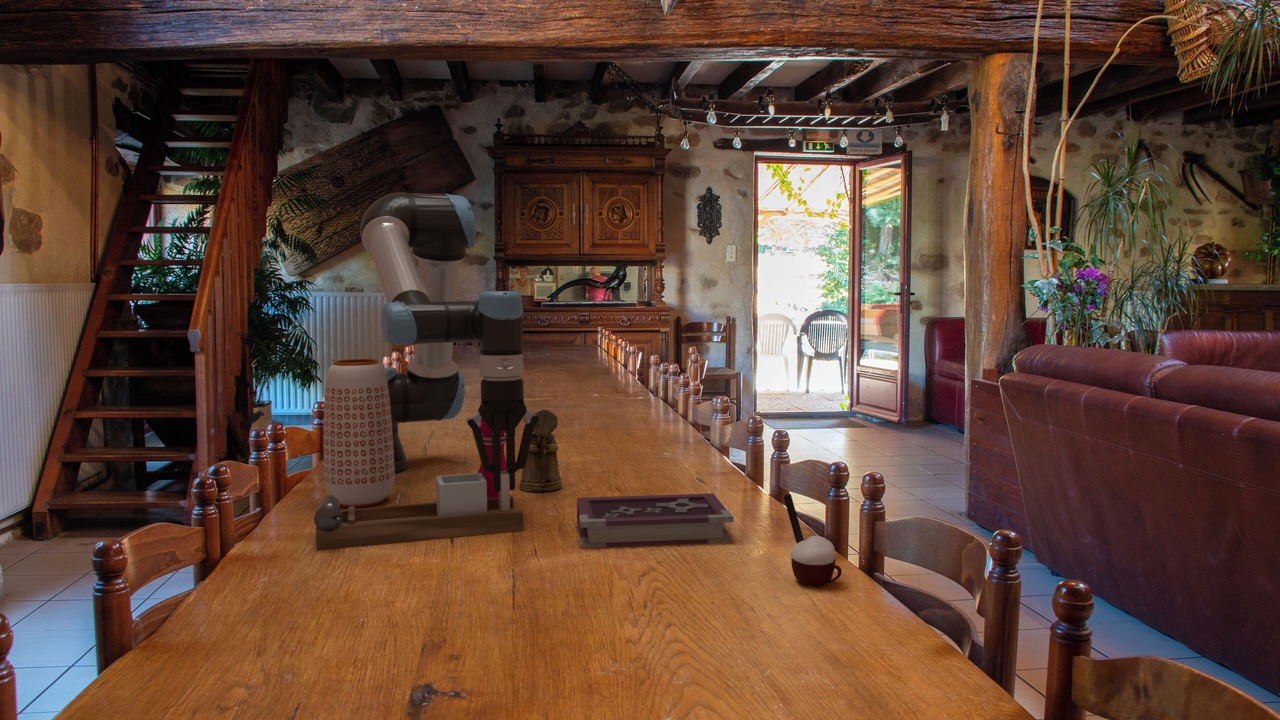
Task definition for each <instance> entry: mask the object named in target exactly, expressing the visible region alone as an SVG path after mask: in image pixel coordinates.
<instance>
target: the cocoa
mask: <svg viewBox="0 0 1280 720" xmlns="http://www.w3.org/2000/svg"><path fill="white" fill-rule="evenodd" d="M783 500H784V503H785V507H786V510H787V514H788V518H789V521H790V525H791V528H792V533H793V536H794V539H795V542H796V543H795V544H794V545H793V547H792V548H791V551H790V558H791V569H792V573H793V576H794V578H795V579H796V580H797V581H798V582H799V583H800V584H802V585H804V586H806V587H807V586H808V587H811V588H812V587H816V588H818V587H823V586H825V585H827V584H831V583H833V582H834V583H835V581H837V580H838V579H839V578H840V577H841V576H842V572H843V571H842V568H841V566H839V565H836V555H835V546H834V544H833V543H832V542H831V541H830V540H829V539H827V538H825V537H823V536H820V535H811V536H809V537H808V538H806V539H804V537H803V531H802V528H801V526H800V522H799V519H798V515H797V511H796V507H795V504H794V501H793V497H792V494H791V493H786V494H784V495H783ZM835 569H836V570H837V575H836V576H835V577H833V575H834V572H835Z"/></svg>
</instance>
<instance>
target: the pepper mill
mask: <svg viewBox="0 0 1280 720" xmlns="http://www.w3.org/2000/svg"><path fill="white" fill-rule="evenodd" d="M479 428H480V430H481V433H482V437H483V440H484V444H485V448H486V452H487V455H488V459H489V463H490V464H492V435H491V428H490V427H489V426H488V425H487V424H486V422H485V421H484V420H483V419H482V418H481V426H480V427H479ZM500 442H501V471H507V468H506V456H505V455H506V454H505V444H506V433H505V430H501V436H500ZM477 473H481V474H482V475H483V477H484V478H485V480H486V481H487V498H497V497H499V491H495V490H494V488H493V473H492V472H489V471H485V470H484V469H483V467H482V464H481V463H480V465H479V468H478V470H477ZM510 496H511V494H510Z"/></svg>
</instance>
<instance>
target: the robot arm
mask: <svg viewBox="0 0 1280 720" xmlns="http://www.w3.org/2000/svg"><path fill="white" fill-rule="evenodd" d="M359 235H360V239H361V243H362V246H363V247H364V249H365V250H366V251H367V252H368V253H369V254H370V255H371V257H372V260H373V263H374V266H375V268H376V272H377V276H378V278H379V281H380V283H381V287H382V290H383V293H384V294H383V295H384V296H385V299H386V302H387V303H385V304H384V305H383V307H382V309H381V316H380V317H381V318H380V319H381V321H380V322H381V328H382V337H383V339H384V341H386V342H387V343H388V344H392V345H406V346H409V345H414V355H413V356H414V357H413V358H412V359H410V361H409V362H408V363H407V366H406V372H398V370H397V368H396V367H392V366H389V367H388V366H387V367H383V368H384V370H385V372H386V376H387V383H388V390H389V398H390V409H391V420H392V433H393V450H394V467H395V474H397V473H400V472H403V471H405V470H407V468H408V458H407V455H406V452H405V450H404V446H403V445H402V442H401V439H400V437H399V436H400V435H399V424H402V423H416V422H417V423H418V422H430V421H437V422H440V421H443V420H450V419H455V418H456V417H457V415H459V414H460V413H461V410H462V408H463V404H464V401H465V394H466V388H465V385H466V383H465V376H464V374H463V372H462V371H460V370H459V366H458V365H457V363H456V362H455V361H453V350H454V349H453V346H454V343H475V342H476V343H477V342H479V349H480V350H479V351H480V352H479V353H480V355H479V358H480V371H479V372H480V376H481V377H483V379H482V380H481V381H480V405H479V407H478V412H476V414H474V415H472V416H470V417H467V418H466V420H465V421H466V424H467V425H468V426H469V428H470V429H471V430H472V434H473V437H474V441H475V445H476V449H477V453H478V456H479V459H480V465H481V464H482V467H483V469H484V470H485V471H489V472H492V473H493V488H494V490H495V491H499V507H500V509H501V510H510V495H511V494H510V491H515V488H516V473H517V472H518V471H519V470H523V468H524V467H525V465H526V460H527V456H528V451H529V447H530V442H531V438H532V433H533V429H534V427H535V426H536V424H537V423H538V421H539V417H538V416H536V415H535V413H532V412H530V411H528V409H527V406H526V403H525V400H524V397H525V395H524V394H525V391H524V380H523V378H521V377H522V376H523V375H524V356H523V354H524V343H523V342H524V341H523V339H524V337H523V335H524V333H523V327H524V326H523V325H524V323H523V317H524V316H523V315H524V309H523V302H522V301H523V298H522V295H521V293H520V292H518V291H515V290H514V291H512V290H511V291H510V290H507V291H506V290H499V291H497V290H496V291H495V290H493V291H492V290H489V291H488V290H486V291H482V292H481V293H479V297H478V298H479V300H472V301H471V300H469V301H467V300H466V301H462V300H461V301H457V300H456V299H457V287H458V285H457V284H458V272H459V269H458V268H459V264H460V263H461V262H464V260H465V259H466V255H467V254H466V253H467V250H470V249H474V247H475V245H476V242H477V227H476V220H475V216H474V210H473V208H472V205H471V204H470V202H469V200H468V199H467V198H466V197H464V196H462V195H455V194H449V193H421V192H420V193H416V192H414V193H413V192H412V193H410V192H399V191H398V192H392V193H388V194H386V195H384V196H382V197H380V198H377V200H375V201H374V202H373V203H372V204H371V205H369V207H367V209H366V211H365V212H364V214H363V216H362V218H361V221H360V225H359ZM415 258H416V260H417V261H418V266H417V263H416V262H417V261H416V260H415ZM481 418H482V419H483V420H484V421H485V422H486V424H487V425H488V426H489V427H490V428H491V435H492V464H490V463H489V459H488V455H487V452H486V448H485V444H484V440H483V437H482V433H481V430H480V428H479V427H480V426H481ZM523 418H524V419H523ZM522 420H523V422H524V427H523V429H522V435H521V440H520V443H519V444H520V445H519V448H518V453H517V458H516V438H515V437H516V428H517V427H518V425H519V424H520V422H521V421H522ZM501 430H505V435H506V443H505V451H506V452H505V455H506V456H505V459H506V468H507V471H501V442H500V436H501Z"/></svg>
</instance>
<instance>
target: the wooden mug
mask: <svg viewBox="0 0 1280 720" xmlns="http://www.w3.org/2000/svg"><path fill="white" fill-rule="evenodd" d="M534 414H535V415H536V416H538V417H539V421H538V423H537V424H536V426H535V427H534V429H533V433H532V438H531V442H530V447H529V451H528V456H527V460H526V465H525V467H524V468H523V469H522V472H521V479H520V481H519V489H520V490H521V491H523V492H527V493H550V492H555V491H558V490H560V489H561V488H562V487H563V482H562V477H561V475H560V469H559V467H560V466H559V462H558V454H557V451H559V448H558V443H557V441H556V437H555V435H554V434H553V433H554V432H555V430H556V429H558V422H559V419H558V417H557V415H556V414H555V413H553V412H551V411H549V410H547V409H541V410H539V411H537V412H535V413H534Z"/></svg>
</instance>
